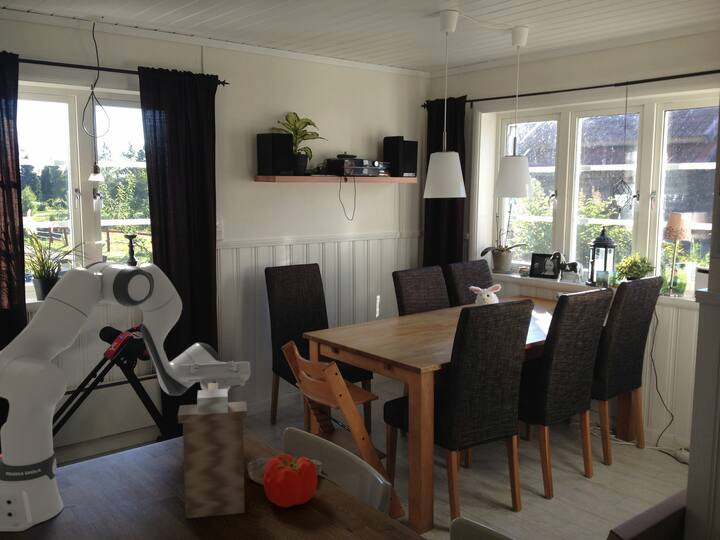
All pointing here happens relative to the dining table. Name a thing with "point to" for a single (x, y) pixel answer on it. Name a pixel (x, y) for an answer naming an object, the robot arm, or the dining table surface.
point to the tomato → (289, 480)
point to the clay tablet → (259, 466)
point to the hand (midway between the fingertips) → (213, 364)
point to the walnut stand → (213, 460)
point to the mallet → (212, 400)
